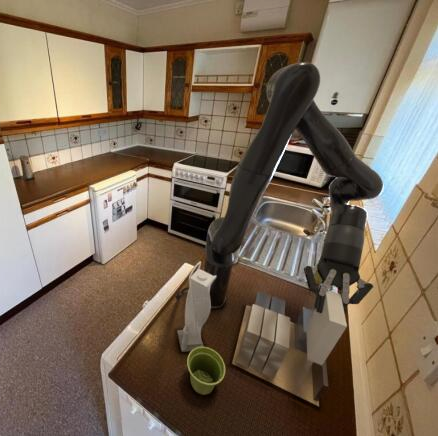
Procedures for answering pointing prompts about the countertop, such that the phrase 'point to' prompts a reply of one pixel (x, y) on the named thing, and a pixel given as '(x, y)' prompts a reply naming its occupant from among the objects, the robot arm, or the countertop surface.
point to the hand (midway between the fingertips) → (328, 315)
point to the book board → (288, 368)
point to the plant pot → (205, 369)
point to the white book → (325, 328)
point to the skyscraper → (196, 309)
